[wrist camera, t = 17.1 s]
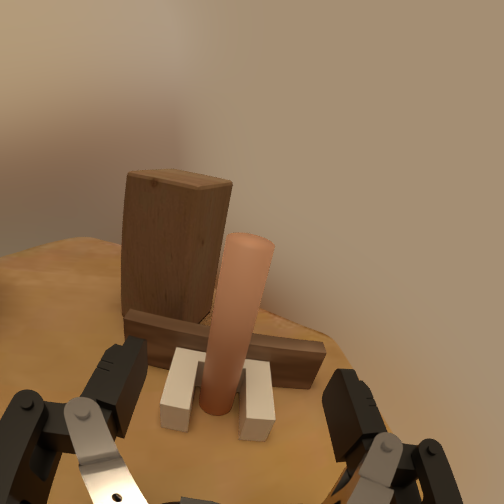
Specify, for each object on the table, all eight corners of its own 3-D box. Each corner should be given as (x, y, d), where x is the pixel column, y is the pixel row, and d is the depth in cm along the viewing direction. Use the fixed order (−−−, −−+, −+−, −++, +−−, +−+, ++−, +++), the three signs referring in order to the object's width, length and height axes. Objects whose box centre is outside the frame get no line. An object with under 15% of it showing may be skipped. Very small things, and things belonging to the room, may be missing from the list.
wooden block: (180, 345, 34) (199, 185, 27) (120, 316, 36) (125, 170, 29) (211, 310, 43) (234, 181, 36) (158, 289, 45) (171, 168, 38)
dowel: (192, 399, 26) (216, 234, 20) (216, 386, 29) (248, 231, 23) (215, 420, 24) (253, 253, 18) (238, 405, 27) (284, 247, 21)
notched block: (264, 441, 23) (275, 420, 21) (161, 426, 22) (159, 403, 20) (261, 385, 30) (269, 361, 29) (175, 372, 29) (176, 347, 28)
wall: (309, 389, 31) (326, 353, 29) (126, 358, 29) (123, 318, 27) (306, 377, 32) (322, 342, 30) (131, 348, 31) (129, 308, 29)
